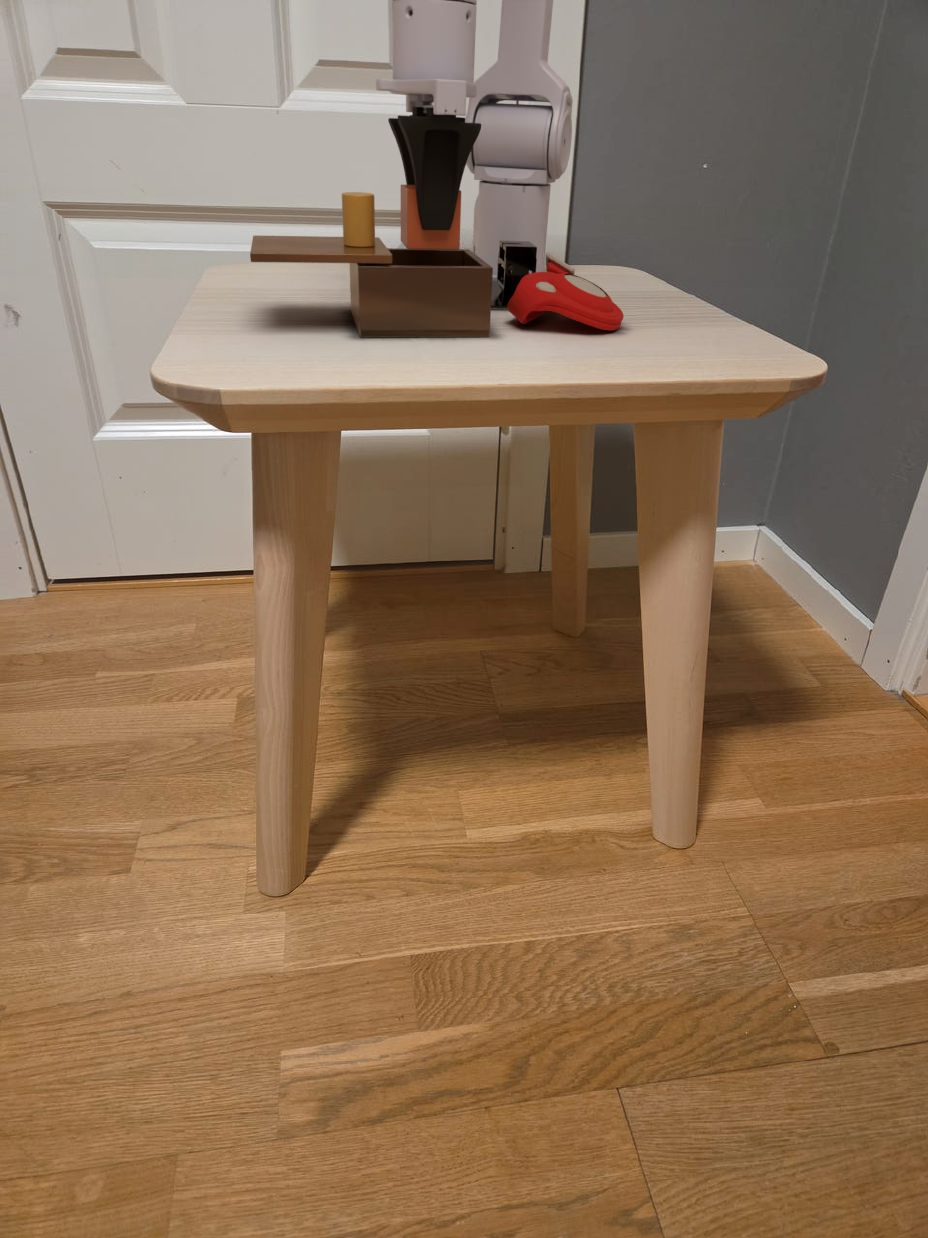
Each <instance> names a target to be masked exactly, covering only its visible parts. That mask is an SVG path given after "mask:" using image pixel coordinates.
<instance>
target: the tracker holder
mask: <svg viewBox="0 0 928 1238" xmlns="http://www.w3.org/2000/svg"><path fill="white" fill-rule="evenodd" d="M545 269H546V270H545V271H546V272H535V273H531V274H528V275H525V276H524V277H523V278H522V279H521V281H520V283H519V284H518V286H517V288H516V291H515V293H514V295H513V296H512V298H511V299H510V301H509V302H508V305H507V309H506V310H508V312H509V313H511V315H512V316H513V317H514V318H515V319H516V320H517V321H518V322H519V323H521V324H522V325H523V324H524V325H525V324H528V323H530V322H531V321H533V320H535V319H536V318H538V317H540V316H541V315H542V314H544V313H546V312H554V313H557V314H559V315H562V316H564V317H567V318H569V319H571V320H574V321H576V322H579V323H582V324H584V325H587V326H590V327H593V328H595V329H600V330H602V331H615V330H618V329H619V328H620V326H621V324H622V322H623V319H624V318H625V317H624V316H625V315H624V313H623V311H622V309H621V308H620V307H619V306H618V305H617V304H616V303H614V301H613V299H612V297H610V295H609V294H608V293H607V292H606V291H605V290H604V289H603V288H601V287H600V286H599V285H597V284H595V283H594V282H592V281H590V280H588V279H586V278H584V277H581V276H578V275H575V271H576V270H575V268H574V267H573V266H572V265H570V264H568V263H566V261H563V260H561V259H560V258H558V257H557V256H555V255H554V254H552V253H550V252H546V253H545Z"/></svg>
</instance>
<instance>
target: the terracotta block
mask: <svg viewBox="0 0 928 1238" xmlns="http://www.w3.org/2000/svg"><path fill="white" fill-rule="evenodd" d="M461 212H462V190H460V189H459V194H458V199H457V204H456V209H455V213H454V218H453V221H452V225H451V228H450V230H423V229H422V227H421V223H420V218H419V213H418V206H417V198H416V189H415V185H407V184H400V242H401V244H403V245H404V248H405V249H438V250H459V249H460V245H461V241H460V240H461V220H462V219H461V214H462V213H461Z"/></svg>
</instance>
